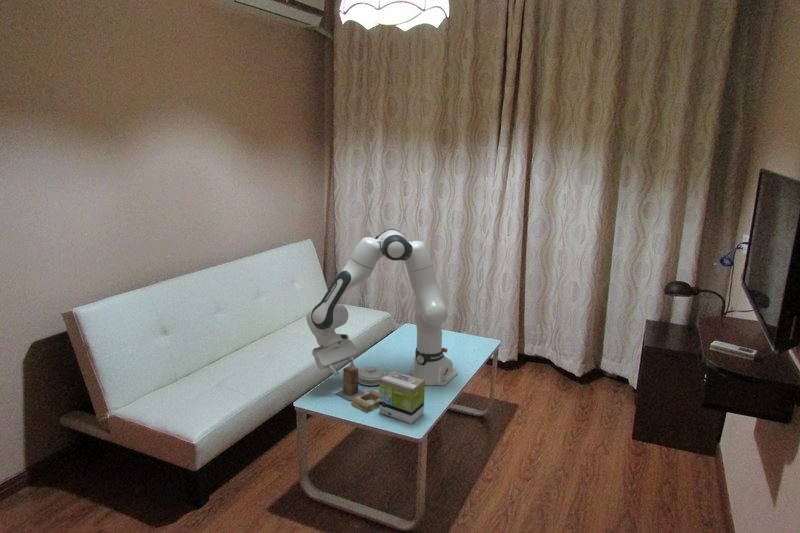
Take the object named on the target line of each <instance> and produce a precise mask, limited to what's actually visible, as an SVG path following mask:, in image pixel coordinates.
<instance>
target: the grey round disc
mask: <svg viewBox="0 0 800 533" xmlns="http://www.w3.org/2000/svg"><path fill="white" fill-rule="evenodd" d="M386 375H387V374H386V371H385V370H384V369H382V368H380V367H376V366H367V367H366V366H365V367H363V368H361V369H358V384H361V385H364V386H378V385H379V386H380V379H382V378H383V377H385V376H386Z"/></svg>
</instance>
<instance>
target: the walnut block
mask: <svg viewBox="0 0 800 533" xmlns="http://www.w3.org/2000/svg"><path fill="white" fill-rule="evenodd" d="M342 371H343V372H342V374H343V377H342V381H343V383H342V387H343V389H342V390H343V393H345V394H347V395H349V396H352V395H355V394H357V393H358V389H359V382H358V371H359V368H358V367H356V366H355V367H354V366H352V365H351V366H349V365H348V366H345V367H344V368H343V369H342Z"/></svg>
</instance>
